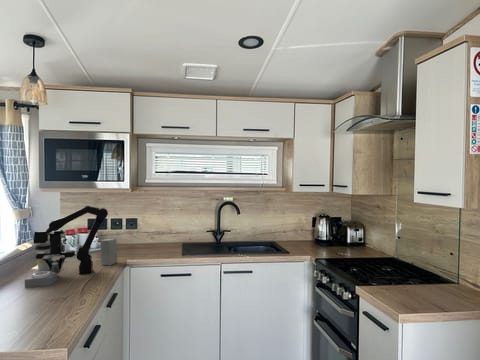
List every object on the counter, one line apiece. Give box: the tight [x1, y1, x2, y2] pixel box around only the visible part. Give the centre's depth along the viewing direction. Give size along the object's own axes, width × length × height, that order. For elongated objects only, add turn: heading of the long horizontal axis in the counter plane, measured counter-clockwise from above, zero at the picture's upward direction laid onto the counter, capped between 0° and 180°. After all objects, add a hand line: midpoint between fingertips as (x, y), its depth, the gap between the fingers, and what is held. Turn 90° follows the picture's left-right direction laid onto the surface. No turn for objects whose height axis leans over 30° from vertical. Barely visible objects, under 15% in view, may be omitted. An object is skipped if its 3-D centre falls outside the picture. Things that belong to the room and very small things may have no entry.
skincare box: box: [100, 238, 118, 266], centre depth 204 cm, size 8×7×16 cm
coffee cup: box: [34, 243, 51, 272], centre depth 192 cm, size 9×9×15 cm
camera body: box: [24, 270, 58, 288], centre depth 167 cm, size 12×9×6 cm
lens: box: [50, 258, 61, 274], centre depth 179 cm, size 5×5×7 cm
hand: (56, 269), depth 179 cm, fingers closed on lens, 4 cm apart
